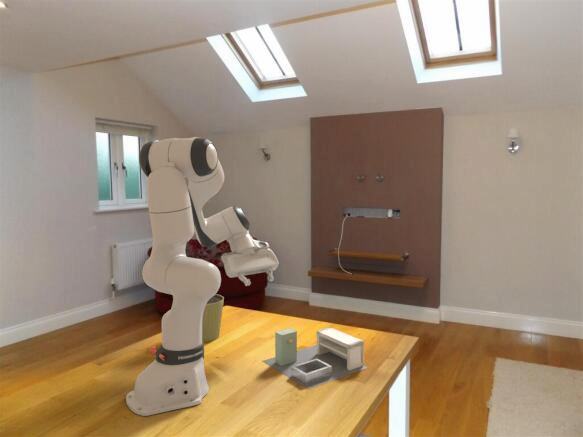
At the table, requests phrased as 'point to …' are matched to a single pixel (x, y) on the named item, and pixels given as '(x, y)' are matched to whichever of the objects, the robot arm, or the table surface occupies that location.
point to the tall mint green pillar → (285, 346)
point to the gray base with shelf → (328, 356)
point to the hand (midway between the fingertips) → (260, 282)
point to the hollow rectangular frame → (306, 378)
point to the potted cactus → (212, 318)
